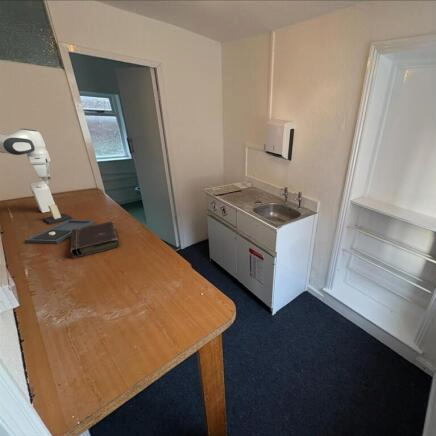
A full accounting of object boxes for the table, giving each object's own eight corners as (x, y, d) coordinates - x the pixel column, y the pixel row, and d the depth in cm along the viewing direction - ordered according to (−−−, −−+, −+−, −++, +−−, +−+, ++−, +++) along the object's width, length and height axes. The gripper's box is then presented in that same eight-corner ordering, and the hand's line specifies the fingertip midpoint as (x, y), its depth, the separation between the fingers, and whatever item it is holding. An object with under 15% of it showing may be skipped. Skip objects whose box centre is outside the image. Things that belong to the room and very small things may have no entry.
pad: (33, 240, 117) (32, 236, 116) (52, 231, 126) (50, 228, 125) (54, 241, 117) (52, 237, 116) (71, 232, 126) (69, 228, 125)
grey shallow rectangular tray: (26, 243, 115) (24, 240, 115) (68, 222, 138) (68, 219, 138) (57, 243, 116) (56, 240, 115) (94, 223, 139) (93, 220, 138)
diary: (72, 259, 105) (68, 249, 103) (73, 237, 122) (70, 229, 120) (121, 246, 116) (119, 238, 114) (116, 228, 133) (114, 220, 131)
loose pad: (49, 224, 135) (43, 209, 131) (43, 220, 139) (37, 205, 136) (71, 218, 143) (66, 204, 139) (65, 215, 147) (59, 201, 144)
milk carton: (39, 210, 152) (27, 182, 145) (54, 207, 158) (43, 180, 150) (42, 213, 149) (30, 184, 141) (57, 210, 154) (46, 182, 147)
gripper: (34, 155, 140) (42, 177, 146) (28, 162, 126) (38, 186, 132) (49, 154, 144) (56, 176, 150) (45, 161, 130) (53, 185, 136)
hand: (47, 181), depth 141 cm, fingers open, 8 cm apart
